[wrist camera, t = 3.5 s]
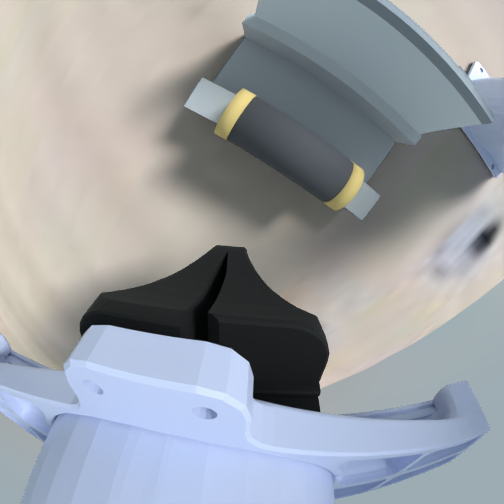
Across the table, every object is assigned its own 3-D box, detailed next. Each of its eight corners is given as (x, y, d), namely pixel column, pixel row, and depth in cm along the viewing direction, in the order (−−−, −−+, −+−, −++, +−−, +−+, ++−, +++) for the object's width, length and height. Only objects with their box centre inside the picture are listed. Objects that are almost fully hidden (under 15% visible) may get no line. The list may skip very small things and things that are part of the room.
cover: (419, 134, 14) (423, 125, 14) (492, 123, 8) (495, 111, 8) (254, 15, 11) (262, 8, 11) (272, -54, 5) (282, -60, 5)
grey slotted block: (400, 132, 18) (422, 135, 15) (347, 206, 21) (362, 220, 18) (252, 29, 15) (250, 12, 12) (196, 109, 18) (184, 106, 15)
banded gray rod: (353, 165, 16) (371, 173, 13) (326, 202, 17) (338, 217, 14) (245, 92, 14) (242, 84, 12) (219, 133, 16) (209, 134, 13)
